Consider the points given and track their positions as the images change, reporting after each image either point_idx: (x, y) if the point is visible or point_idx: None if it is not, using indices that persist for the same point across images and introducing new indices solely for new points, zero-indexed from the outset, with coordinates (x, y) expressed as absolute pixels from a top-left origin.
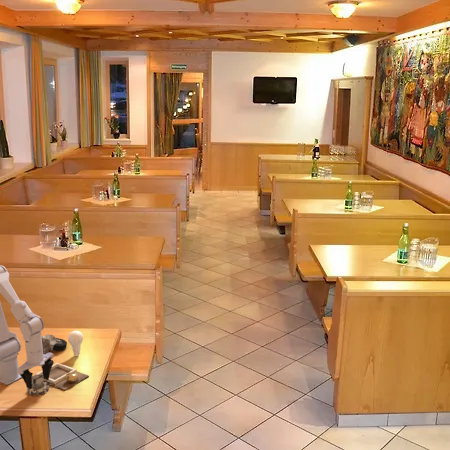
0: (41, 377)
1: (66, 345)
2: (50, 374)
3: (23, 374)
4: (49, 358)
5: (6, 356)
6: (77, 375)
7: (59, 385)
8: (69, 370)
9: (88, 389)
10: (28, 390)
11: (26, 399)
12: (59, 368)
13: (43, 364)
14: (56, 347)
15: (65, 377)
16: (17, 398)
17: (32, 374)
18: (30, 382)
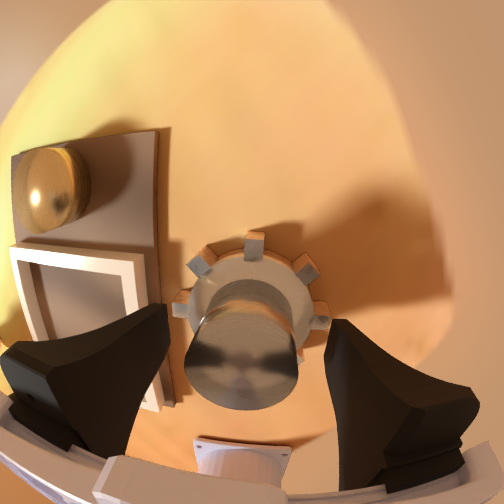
0: (223, 335)
1: (10, 394)
2: None
3: (453, 441)
4: (20, 422)
5: None
6: (27, 153)
7: (135, 212)
8: (31, 286)
9: (94, 40)
10: (300, 348)
11: (374, 287)
12: None
13: (163, 472)
14: None
15: (66, 249)
16: (380, 339)
17: (401, 397)
18: (370, 348)
